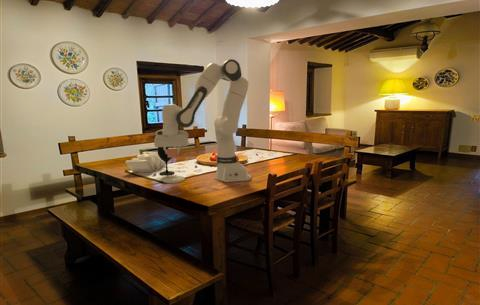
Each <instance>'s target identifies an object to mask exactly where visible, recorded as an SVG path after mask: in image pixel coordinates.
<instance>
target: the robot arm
mask: <svg viewBox="0 0 480 305" xmlns="http://www.w3.org/2000/svg"><path fill="white" fill-rule="evenodd" d="M242 75H243V74H242V69H241V65H240V63H239V62H238V61H237V60H236V59H233V58H231V59H227V60H225V61H224V62H223V64H222V65H219V64H217V63H215V62H211V63H209V64H208V65H207V66H206V67H205V69H203V71H201V73H200V74H199V76H198V78H197V80H196V83H195V86H194V91H193V95H192V97H191V98H190V100H189V102H188V103H187V104H186V106H185V107H184V108H183V107H181V106H179V105H176V104H175V103H171V104H166V105H164V106H162V110H161V115H162V116H161V118H162V124H163V125H162V129H159V130H156V131H155V137H154V143H153V144H154V146H155V147H156V148H158V147H163V149H164V150H165V152H166V154H167V150H166V147H173V148H177V151H176V154H177V155H178V154H179V155H180V149H181V147H188V146H189V144H190V143H189V133H188V131H186V130H179V127H181V128H190V127H191V126H192V125H193V124H194V122H195V116H196V113H197V111H198V110H199V108H200V106H201V105H202V103H203V101H204V100H205V99H206V98H207V97H208V96H209V95H210V94H211V93H212V92H213V90H215V88H216V86H217V85H218V83H219V81H220V80H224V81H227V82H229V88H228V90H227V94H226V96H225V99H224V102H223V108H222V113H221V115H220V116H217V117H216V118H215V120H214V124H213V125H214V131H215V139H216V152H217V153H216V154H217V155H216V173H215V176H214V179H215V180H217V181H222V182H225V183H229V182H245V181H250V180H251V179H252V176H251V175H250V173H248V169H247V167H246V166H245V165H243V164H242V163H241V162H239V161H240V158H239V156H237V155H236V144H235V143H236V142H235V140H234V134H235V133H237V131H238V129H239V121H240V115H241V111H242V107H243V105H244V102H245V99H246V97H247V93H248V88H249V81H248V79H246V78H244V77H243V76H242Z"/></svg>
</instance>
